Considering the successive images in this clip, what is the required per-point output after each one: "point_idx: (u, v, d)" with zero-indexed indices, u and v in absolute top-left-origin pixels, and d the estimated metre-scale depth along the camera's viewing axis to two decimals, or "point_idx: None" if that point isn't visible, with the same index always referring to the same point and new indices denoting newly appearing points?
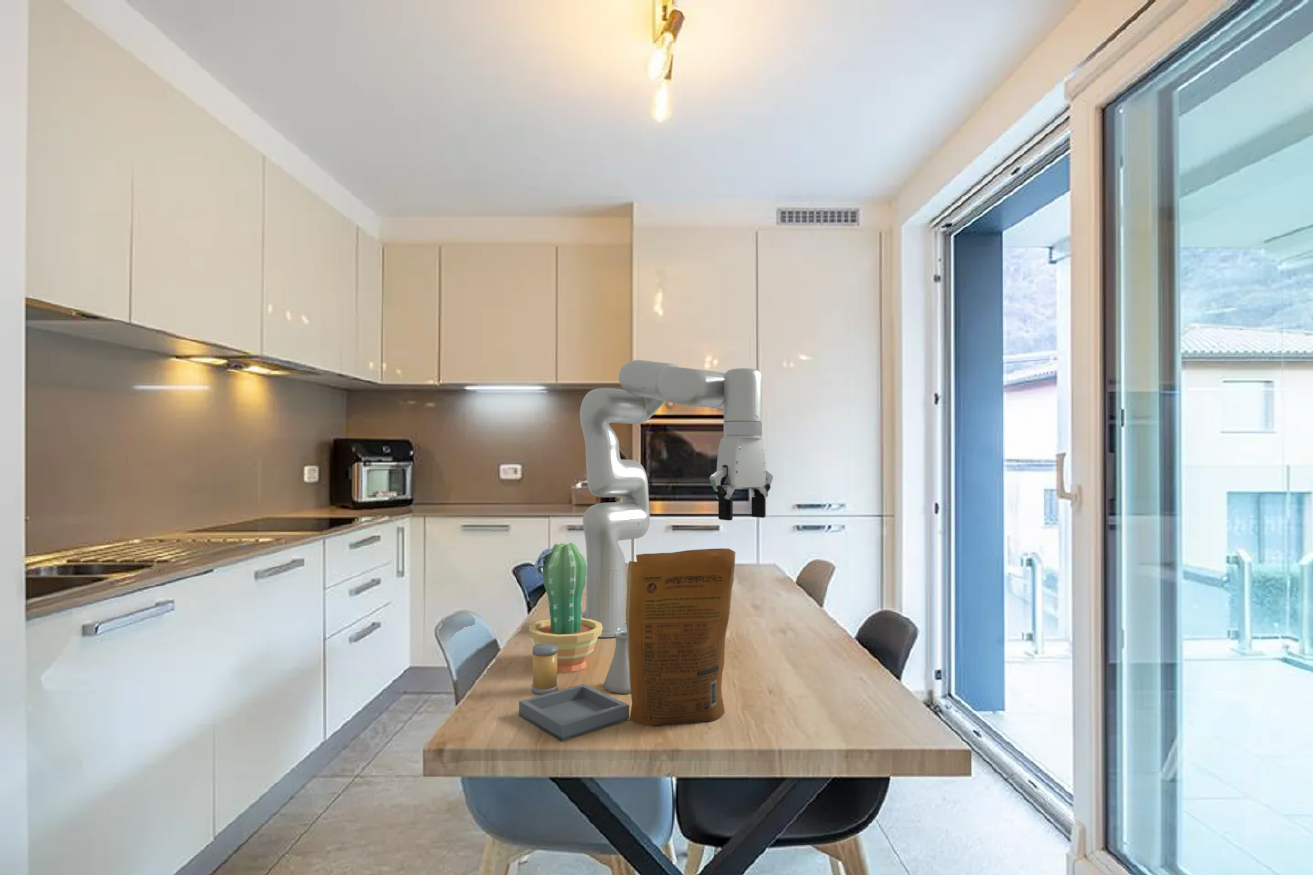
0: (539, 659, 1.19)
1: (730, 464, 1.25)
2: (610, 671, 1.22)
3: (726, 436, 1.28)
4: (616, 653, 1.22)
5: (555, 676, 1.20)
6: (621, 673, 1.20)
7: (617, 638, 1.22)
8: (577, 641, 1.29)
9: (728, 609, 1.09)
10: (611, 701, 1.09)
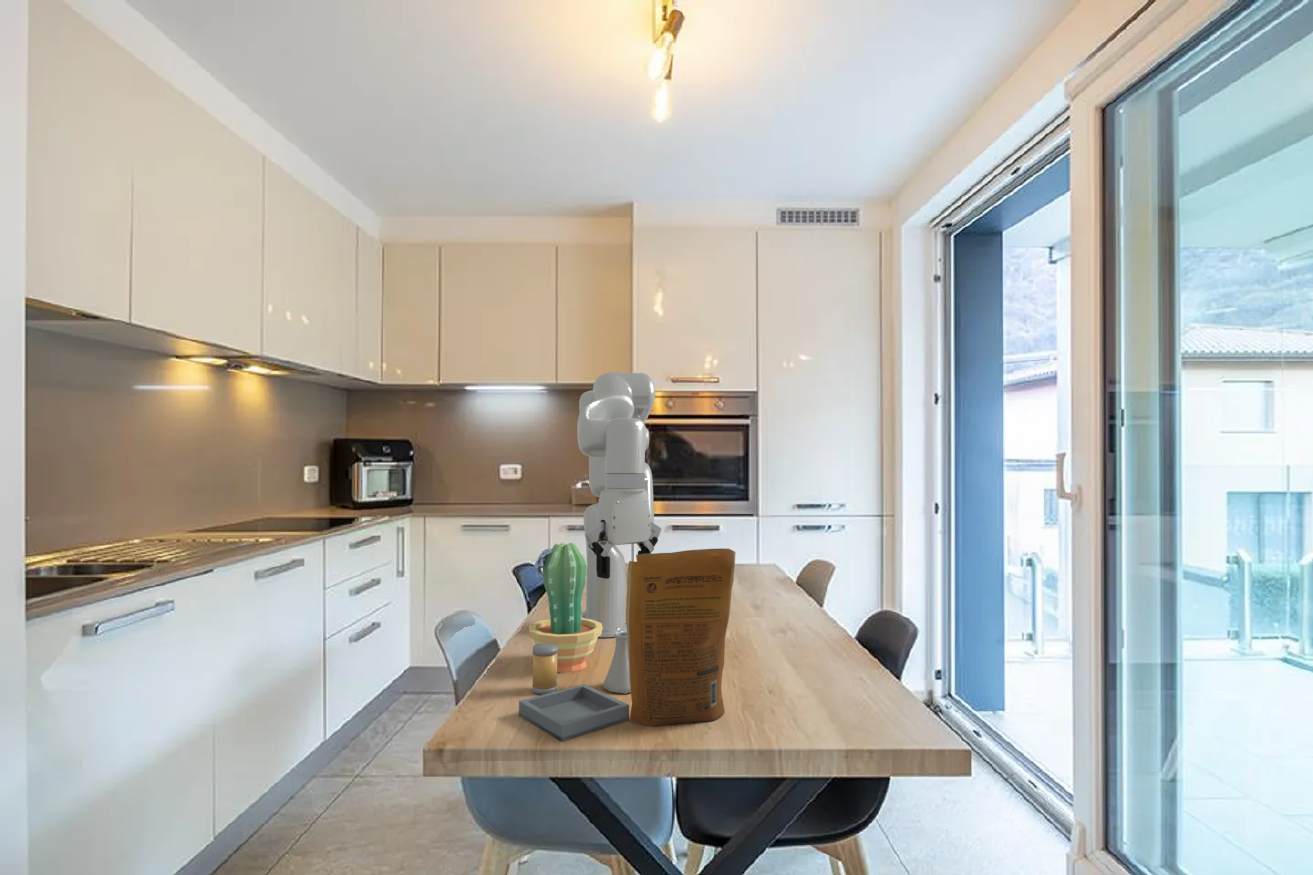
0: (539, 659, 1.19)
1: (607, 519, 1.19)
2: (610, 671, 1.22)
3: (606, 489, 1.22)
4: (616, 653, 1.22)
5: (555, 676, 1.20)
6: (621, 673, 1.20)
7: (617, 638, 1.22)
8: (577, 641, 1.29)
9: (728, 609, 1.09)
10: (611, 701, 1.09)
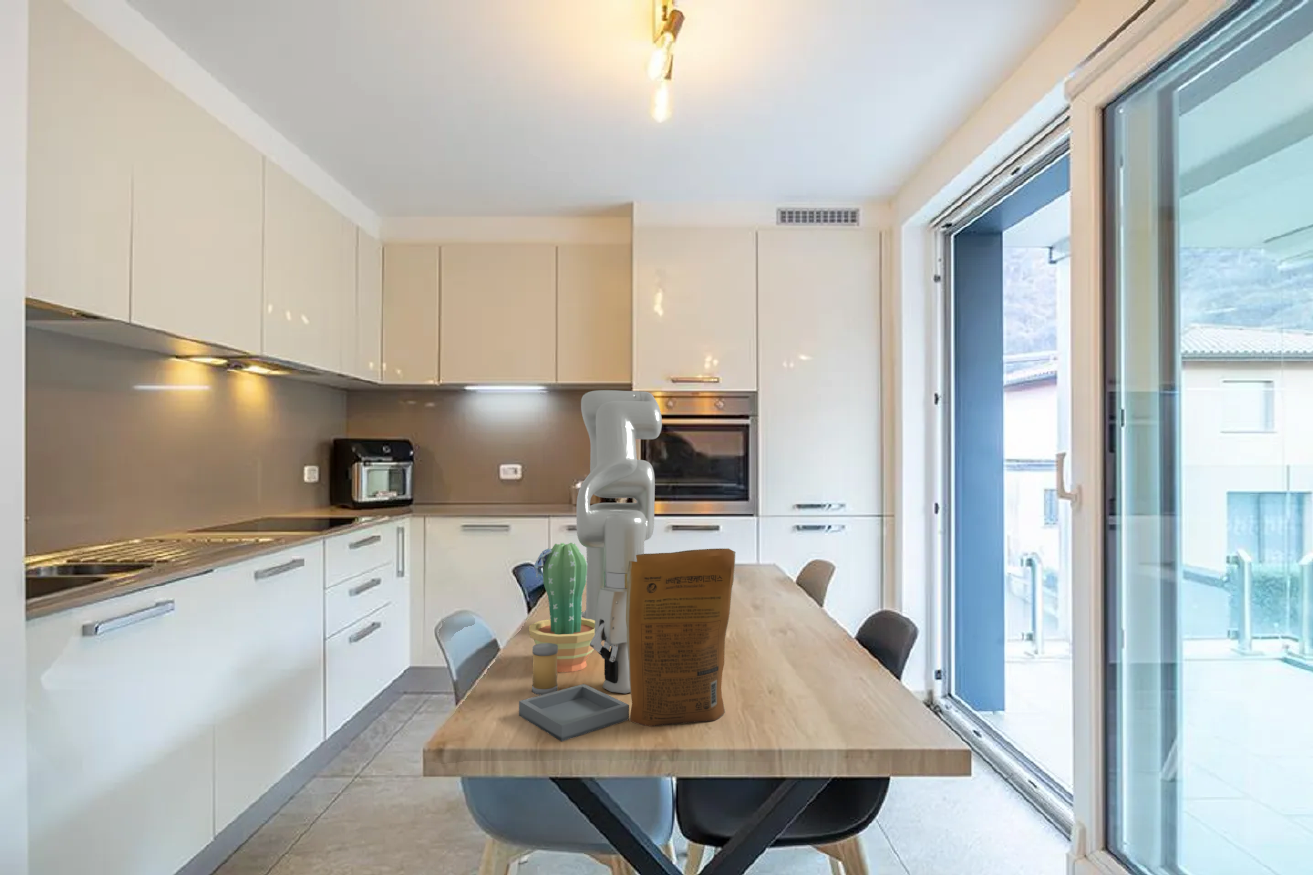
0: (539, 659, 1.19)
1: (606, 620, 1.19)
2: None
3: (605, 587, 1.21)
4: None
5: (555, 676, 1.20)
6: (621, 673, 1.20)
7: None
8: (577, 641, 1.29)
9: (728, 609, 1.09)
10: (611, 701, 1.09)
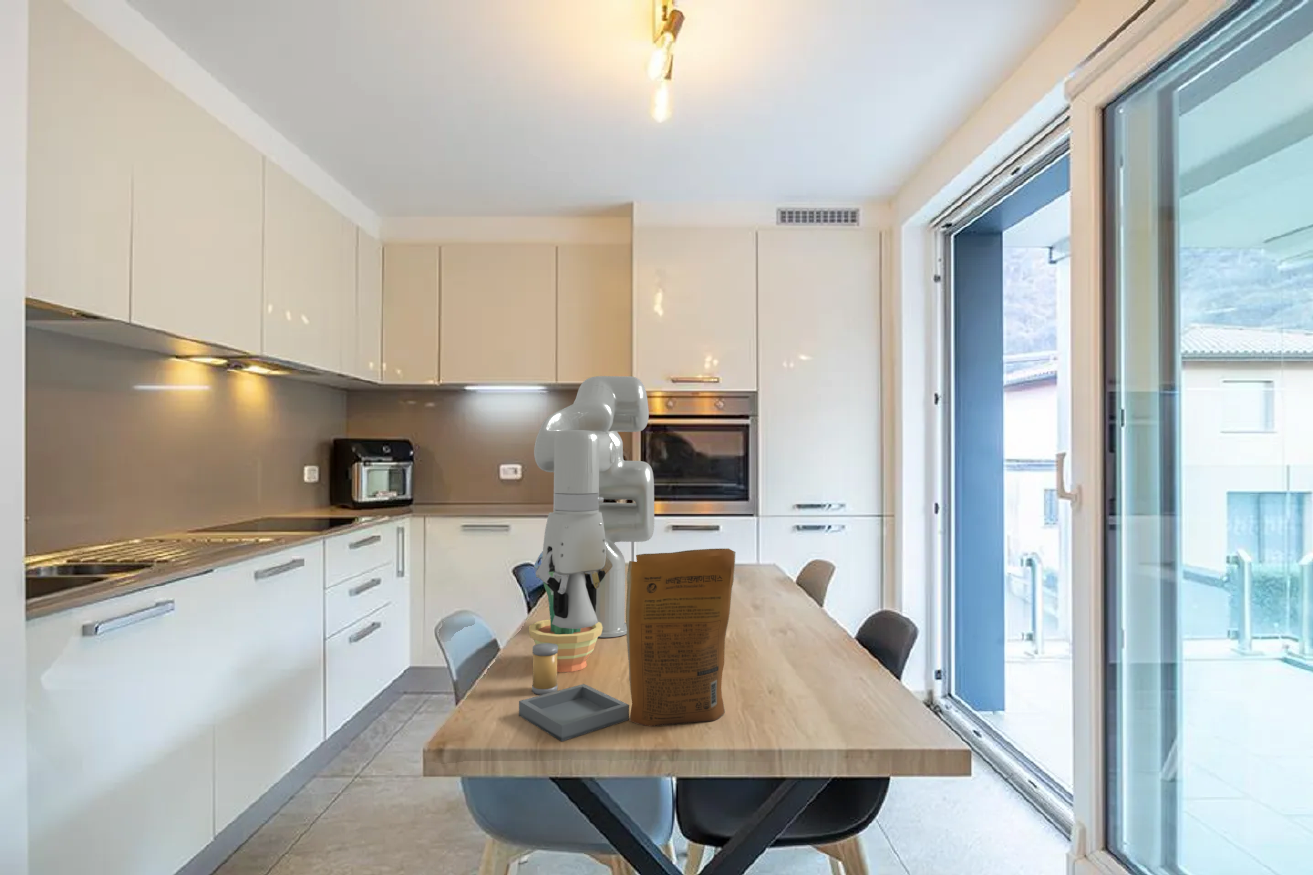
0: (539, 659, 1.19)
1: (554, 546, 1.05)
2: None
3: (554, 510, 1.08)
4: (567, 585, 1.08)
5: (555, 676, 1.20)
6: (572, 607, 1.06)
7: None
8: (577, 641, 1.29)
9: (728, 609, 1.09)
10: (611, 701, 1.09)
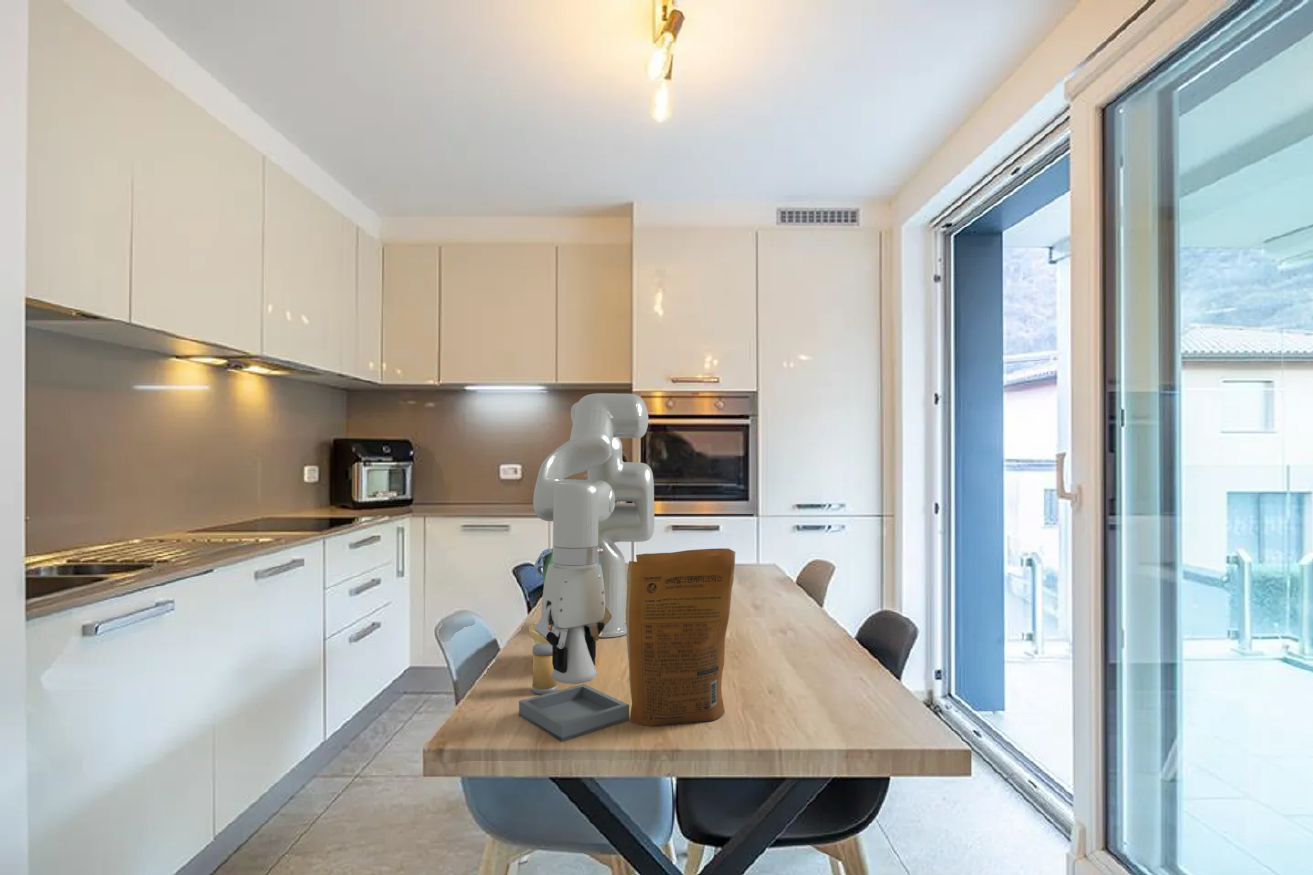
0: (539, 659, 1.19)
1: (553, 601, 1.04)
2: None
3: (553, 564, 1.07)
4: (567, 639, 1.08)
5: None
6: (571, 661, 1.06)
7: None
8: None
9: (728, 609, 1.09)
10: (611, 701, 1.09)
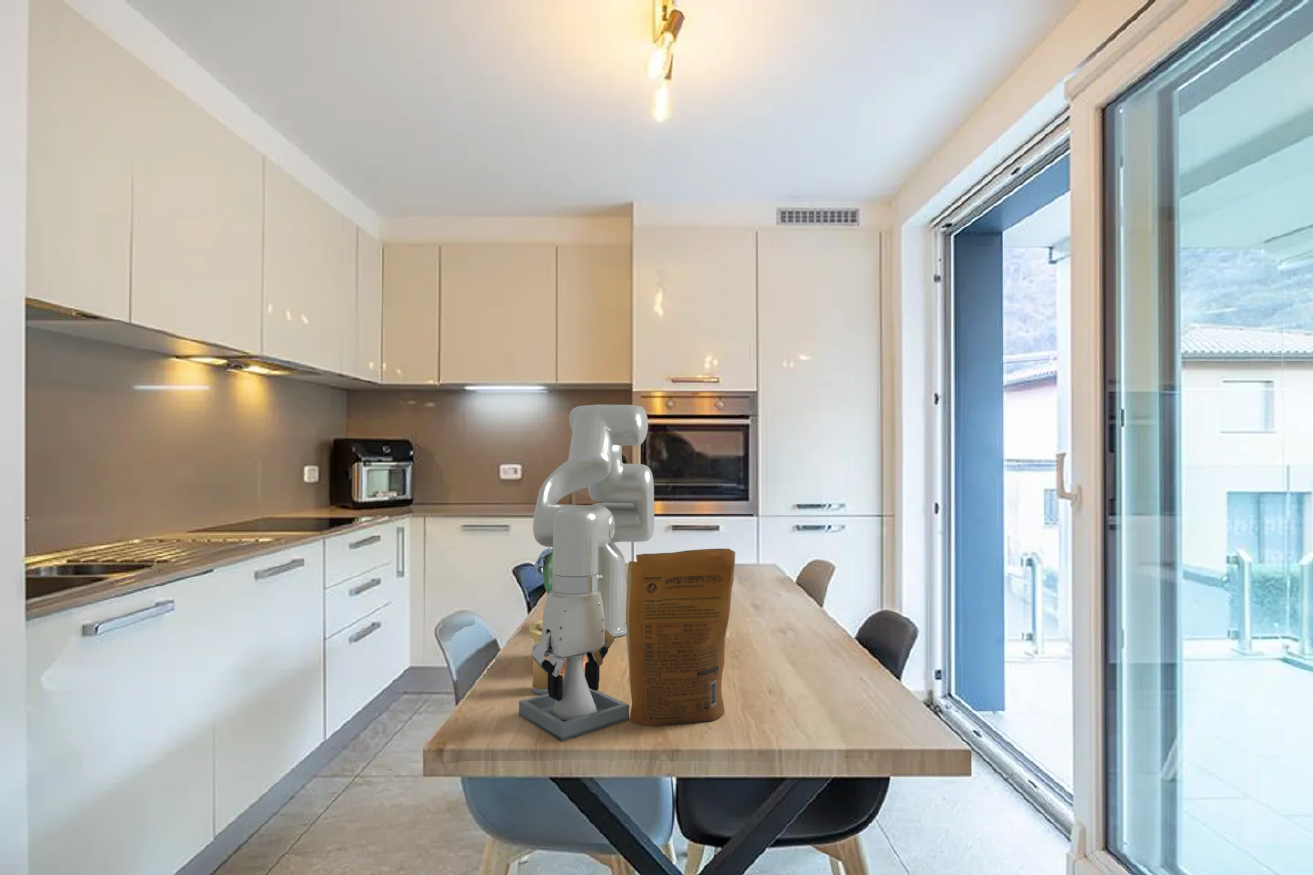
0: None
1: (553, 630, 1.04)
2: None
3: (553, 592, 1.07)
4: (566, 675, 1.08)
5: None
6: (571, 698, 1.06)
7: (567, 658, 1.08)
8: None
9: (728, 609, 1.09)
10: (611, 701, 1.09)
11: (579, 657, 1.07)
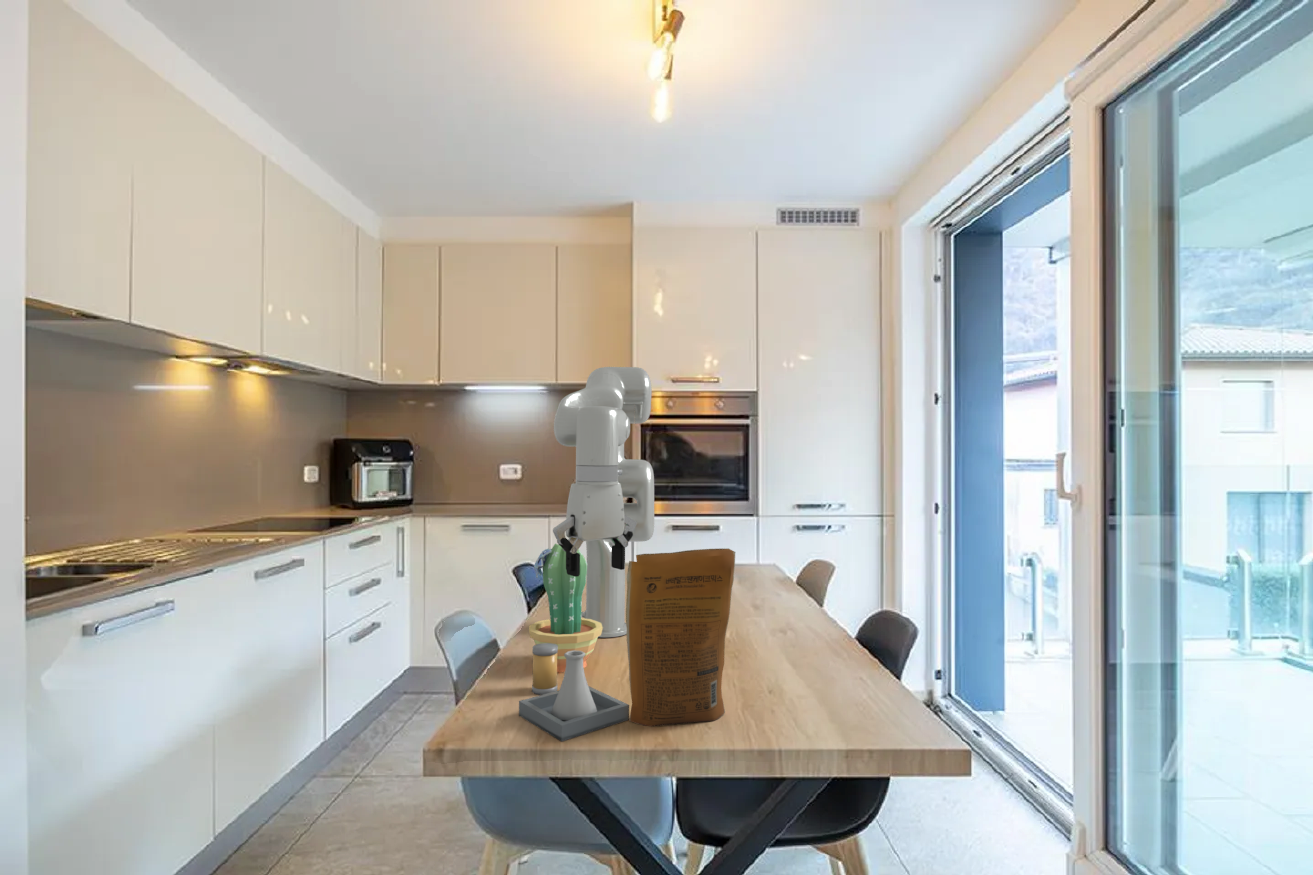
0: (539, 659, 1.19)
1: (577, 514, 1.12)
2: (559, 695, 1.07)
3: (576, 481, 1.15)
4: (566, 675, 1.08)
5: (555, 676, 1.20)
6: (571, 698, 1.06)
7: (567, 658, 1.08)
8: (577, 641, 1.29)
9: (728, 609, 1.09)
10: (611, 701, 1.09)
11: (579, 657, 1.07)
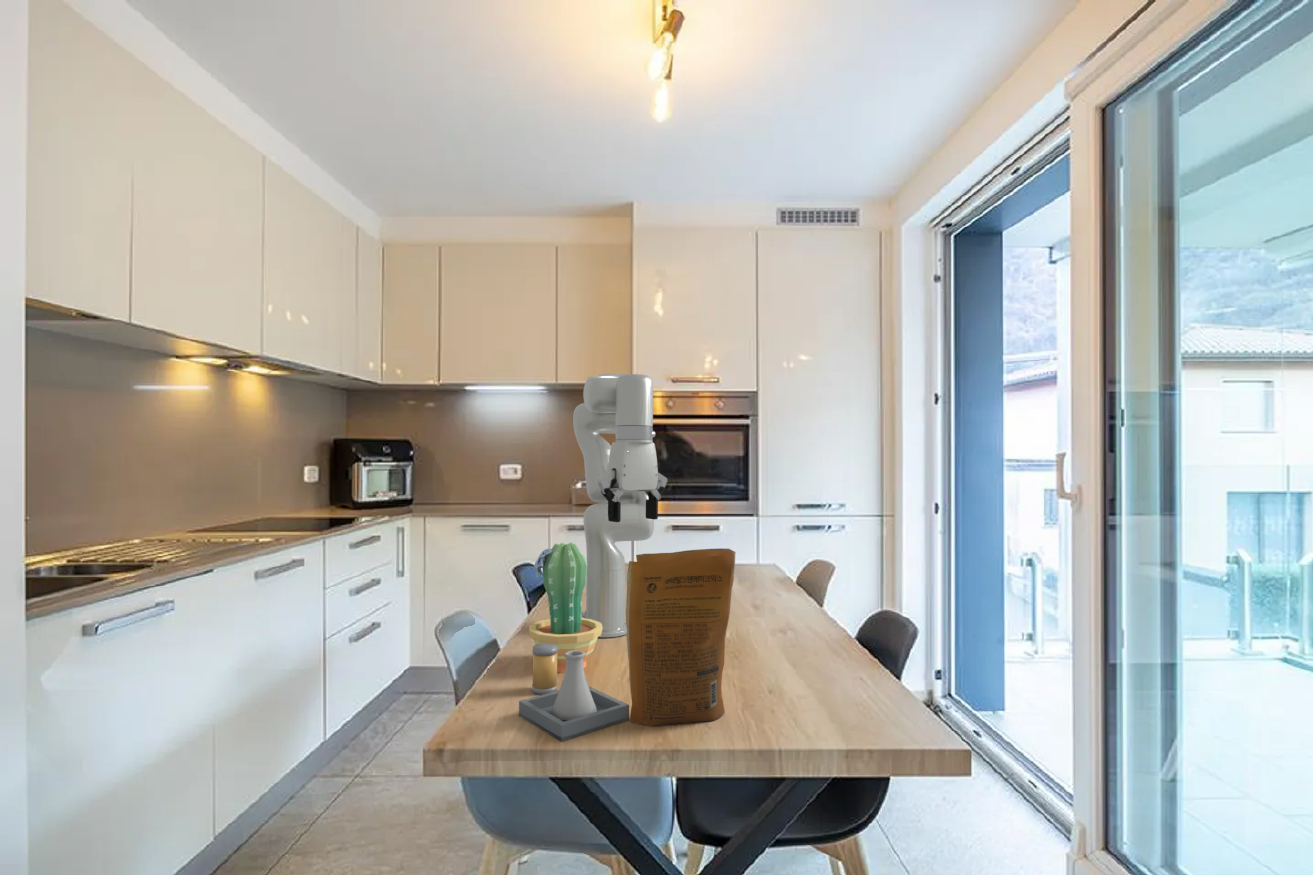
0: (539, 659, 1.19)
1: (618, 467, 1.29)
2: (559, 695, 1.07)
3: (617, 440, 1.31)
4: (566, 675, 1.08)
5: (555, 676, 1.20)
6: (571, 698, 1.06)
7: (567, 658, 1.08)
8: (577, 641, 1.29)
9: (728, 609, 1.09)
10: (611, 701, 1.09)
11: (579, 657, 1.07)
